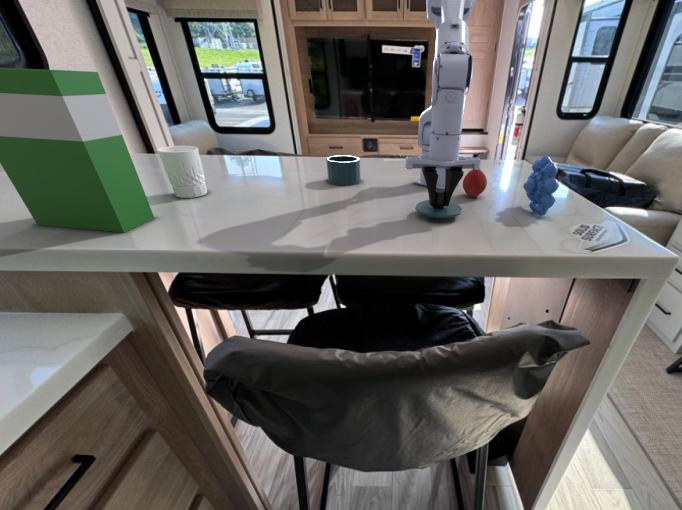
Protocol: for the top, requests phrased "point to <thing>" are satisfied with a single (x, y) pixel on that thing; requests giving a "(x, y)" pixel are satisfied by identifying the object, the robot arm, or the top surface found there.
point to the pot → (343, 170)
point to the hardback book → (68, 151)
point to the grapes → (542, 185)
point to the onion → (474, 183)
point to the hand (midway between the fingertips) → (438, 204)
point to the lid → (438, 207)
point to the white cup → (184, 170)
